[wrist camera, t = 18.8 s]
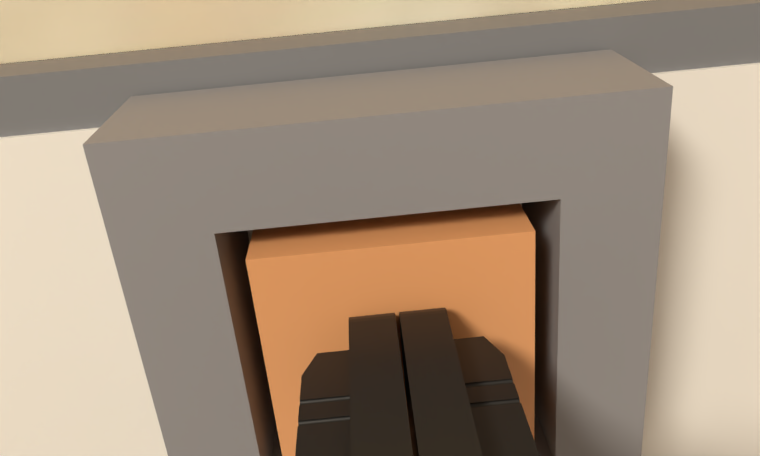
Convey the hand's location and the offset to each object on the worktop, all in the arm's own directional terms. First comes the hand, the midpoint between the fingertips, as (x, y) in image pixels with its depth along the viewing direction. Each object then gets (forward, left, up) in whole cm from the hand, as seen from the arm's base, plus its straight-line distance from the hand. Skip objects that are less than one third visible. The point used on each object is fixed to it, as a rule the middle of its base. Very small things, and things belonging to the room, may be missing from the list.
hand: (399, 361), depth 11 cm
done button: (0, 0, -2) cm, 2 cm away
